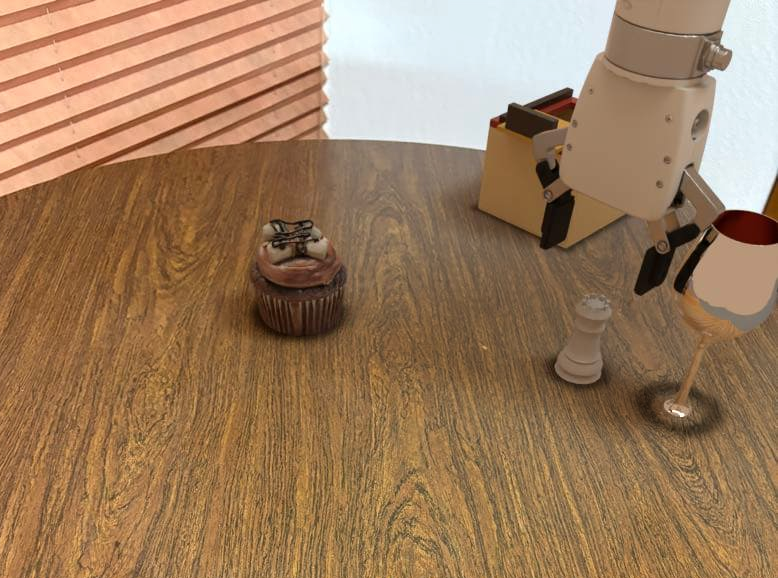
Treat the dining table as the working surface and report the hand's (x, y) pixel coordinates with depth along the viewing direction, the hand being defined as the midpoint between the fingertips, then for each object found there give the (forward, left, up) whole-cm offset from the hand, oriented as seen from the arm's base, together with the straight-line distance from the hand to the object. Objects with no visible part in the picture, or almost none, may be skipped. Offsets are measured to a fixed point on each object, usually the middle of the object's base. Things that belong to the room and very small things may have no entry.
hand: (597, 266), depth 74 cm
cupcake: (+12, -25, -12) cm, 30 cm away
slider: (-21, -21, -1) cm, 29 cm away
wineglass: (-3, +10, -12) cm, 16 cm away
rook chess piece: (-1, 0, -12) cm, 12 cm away
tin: (-26, -21, -12) cm, 35 cm away
